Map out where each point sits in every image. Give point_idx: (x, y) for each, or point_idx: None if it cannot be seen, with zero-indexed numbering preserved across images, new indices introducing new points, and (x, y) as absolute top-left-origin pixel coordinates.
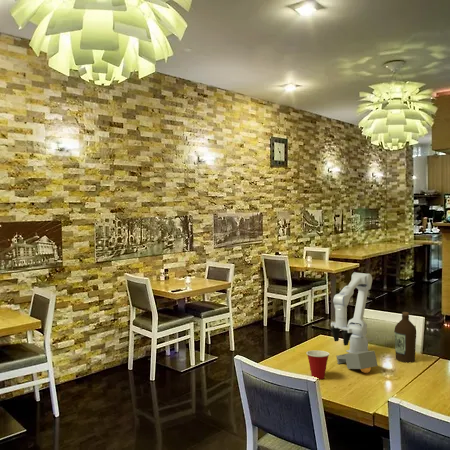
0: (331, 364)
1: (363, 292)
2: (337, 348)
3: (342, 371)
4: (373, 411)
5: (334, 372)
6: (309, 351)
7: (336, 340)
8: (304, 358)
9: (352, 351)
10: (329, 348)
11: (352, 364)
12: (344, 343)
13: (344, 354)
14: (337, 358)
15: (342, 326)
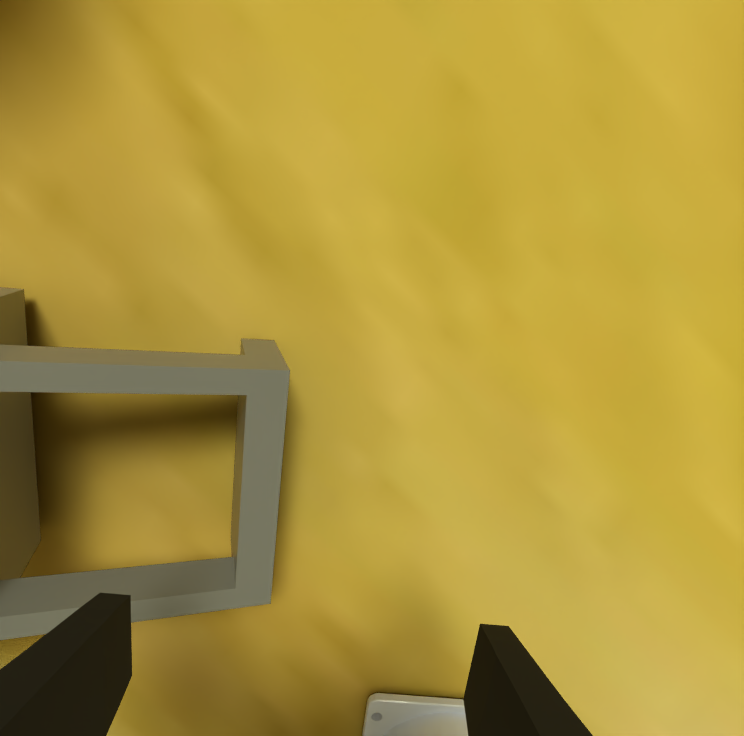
0: (298, 248)
1: None
2: (661, 695)
3: (4, 176)
4: None
5: (13, 34)
6: None
7: (480, 672)
8: (718, 77)
9: (436, 729)
10: (726, 631)
11: None
12: (56, 628)
13: (241, 501)
14: (265, 358)
15: None
